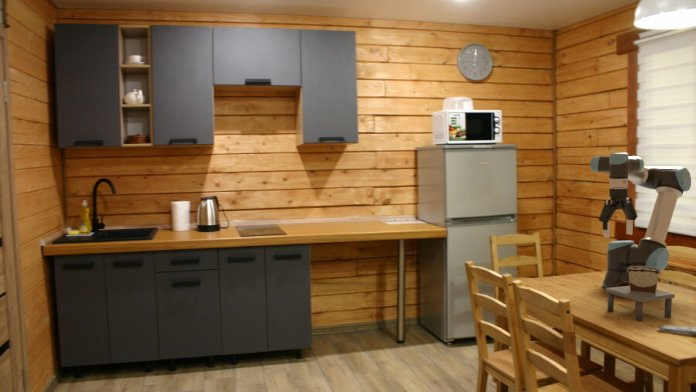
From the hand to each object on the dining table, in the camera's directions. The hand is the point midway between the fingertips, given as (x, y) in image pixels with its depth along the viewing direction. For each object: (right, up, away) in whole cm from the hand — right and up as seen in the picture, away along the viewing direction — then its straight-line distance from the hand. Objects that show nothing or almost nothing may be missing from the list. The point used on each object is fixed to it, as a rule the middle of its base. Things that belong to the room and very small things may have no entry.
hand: (618, 235), depth 259 cm
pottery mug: (+9, -29, +11) cm, 32 cm away
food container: (+2, -22, -18) cm, 28 cm away
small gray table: (0, -31, -17) cm, 36 cm away
